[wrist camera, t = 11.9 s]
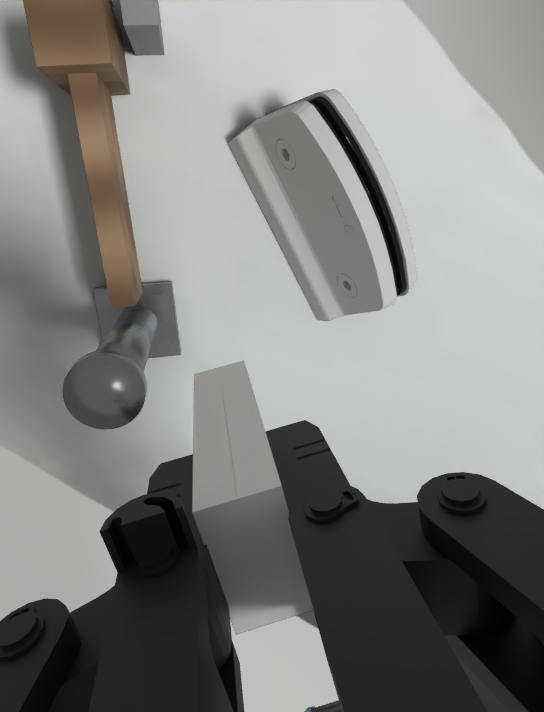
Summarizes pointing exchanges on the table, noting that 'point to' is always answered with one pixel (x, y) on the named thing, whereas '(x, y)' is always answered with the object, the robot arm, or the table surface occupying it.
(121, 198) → the wooden mallet
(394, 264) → the grey arched slab
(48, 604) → the robot arm
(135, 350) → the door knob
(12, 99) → the table surface
